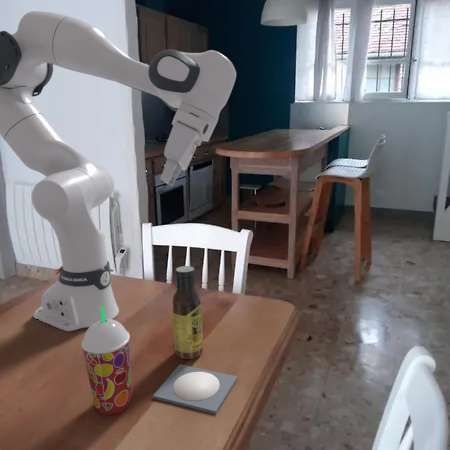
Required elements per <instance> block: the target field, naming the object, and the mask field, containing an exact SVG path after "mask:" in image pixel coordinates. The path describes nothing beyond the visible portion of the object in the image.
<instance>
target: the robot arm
mask: <svg viewBox="0 0 450 450" xmlns="http://www.w3.org/2000/svg"><path fill="white" fill-rule="evenodd" d="M54 66H57V67H58V68H59V67H60V68H63V69H66V70H70V71H73V72H76V73H80V74H85V75H89V76H91V77H92V76H93V77H95V78H100V79H104V80H109V81H112V82H116V83H118V84H121V85H124V86H125V87H126V86H127V87H129V88H132V89H134V90H138V91H139V92H143V93H145V94H149V95H151V96H154V97H156V98H157V99H159V100H161V101H162V103H164V104H165V106H167V107H168V108H169V109H171V110H172V111H174V112H175V115H174V116H173V120H172V122H171V125H172V127H171V131H170V133H169V137H168V139H167V141H166V144H165V147H164V153H163V156H164V157H165V158H166V162H165V164H164V168H163V170H162V172H161V173H162V174H161V176H160V177H159V178H160V180H161V182H164V183H165V184H167V185H168V186H171V187H172V186H173V185H174V184H175V182H176V180H177V178H178V177H179V175H180V173H181V171H187V169H188V167H189V165H190V164H191V163H190V162H191V161H192V159H193V156H194V154H195V151H196V150H197V147H200V146H201V145H202V142H206V143H207V142H210V138H211V137H212V134H213V132H214V129H215V128H216V126H217V124H218V121H219V117H220V113H221V111H222V109H223V108H224V107H225V106H226V104H227V102H228V101H229V99H230V96H231V94H232V90H233V88H234V85H235V82H236V79H237V78H236V77H237V71H236V67H235V65H234V64H233V62H232V61H231V60H230V59H229V58H228V57H227V56H225V54H223V53H221V52H220V51H217V50H213V49H210V50H207V51H204V52H184V51H179V50H176V49H173V48H172V49H170V48H169V49H164V50H161V51H159V52H158V53H157V54H155V56H154V57H152V59H151V61H150V63H149V64H146V63H143V62H141V61H138V60H135V59H134V58H132V57H130V56H129V55H127V54H126V53H124V52H123V51H122V50H121V49H120V48H119V47H118V46H116V45H115V44H114V43H113V42H112V41H111V40H110V39H109V38H108V36H107V35H105V34H104V32H102V31H101V30H100V29H98V28H97V27H95V26H93V25H91V24H89V23H87V22H86V21H83V20H81V19H79V18H75V17H72V16H69V15H68V16H67V15H65V14H60V13H57V12H50V11H49V12H48V11H41V10H39V11H37V10H33V11H29V12H26V13H25V14H24V15H22V17H21V19H20V20H19V22H18V26H17V30H16V32H15V33H13V34H10V32H8V31H7V30H1V31H0V136H1V137H2V138H3V139H2V140H4V141H5V143H6V144H7V145H8V146H9V148H10V149H11V150H12V151H13V152H14V154H15V155H16V156H17V157H18V158H19V160H20V161H21V162H22V163H23V164H24V166H26V167H27V168H28V169H30V170H32V171H35V172H38V173H40V174H41V175H43V176H44V177H45V178H43V179H42V180H41V181H39V182H38V183H37V184H35V186H34V187H33V189H32V192H31V202H32V205H33V208H34V209H35V212H36V213H37V214H38V215H39V216H40V217H41V218H43V219H45V220H47V221H48V223H49V224H50V225H51V227H52V229H53V231H54V233H55V235H56V239H57V241H58V246H59V252H60V258H61V266H60V267H59V268H57V269H55V270H54V272H55V273H54V275H57V274H59V275H58V280H56V282H54V283H53V284H52V285H51V286H49V287H48V288H47V289H46V290H45V292H43V294H42V296H41V306H40V307H39V308H37V309H36V311H34V313H33V317H34V318H36V319H39V320H41V321H43V322H42V323H44V322H45V324H46V323H47V325H49V324H50V326H52V327H54V328H57V329H59V330H63V331H65V332H72V331H76V330H79V329H80V330H81V329H85V328H89V327H90V326H91V325H92V324H93V323H95V322H97V321H99V320H102V318H101V310H100V307H101V306H104V311H105V319H112V320H114V319H115V318H116V317H117V316H118V315H119V313H120V309H119V305H118V304H117V302H116V299H115V296H114V292H113V288H112V283H111V267H110V262H109V260H108V256H107V246H106V237H105V234H104V232H103V231H102V230H101V229H100V228H98V227H97V225H96V223H95V221H94V219H93V215H92V210H93V209H94V208H97V207H99V206H101V205H103V203H105V202H106V201H107V200H108V199H109V197H110V196H112V193H113V191H114V185H115V183H114V179H113V176H112V174H111V173H110V172H109V171H108V170H107V169H106V168H104V167H103V166H99V165H98V164H96V163H94V162H92V161H91V160H90V159H88V158H87V157H86V156H84V155H83V154H82V153H81V152H79V151H78V150H77V149H76V148H74V147H73V146H72V144H70V143H69V142H68V141H66V139H65V138H64V137H62V135H61V134H60V132H59V131H58V130H57V129H56V127H54V125H53V123H51V122H50V121H49V120H48V118H47V117H46V116H45V114H44V113H43V112H42V111H41V110H40V108H39V107H38V106H37V105H36V103H35V101H34V98H33V97H37V96H38V97H39V95H40V94H42V92H43V89H44V88H45V86H47V85H48V84H49V82H50V80H51V79H52V76H53V72H54ZM33 317H32V318H33ZM34 318H33V319H34ZM36 319H35V320H36ZM39 320H38V321H39ZM41 321H40V322H41Z"/></svg>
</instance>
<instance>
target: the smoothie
mask: <svg viewBox="0 0 450 450" xmlns="http://www.w3.org/2000/svg"><path fill="white" fill-rule="evenodd" d="M100 310H101V318H102V320H99V321H97V322H95V323H93V324H92V325H91V326H90V327H87V330H86V332H85V334H84V337H83V338H82V340H81V343H80V345H81V348H82V353H83V357H84V362H85V363H84V364H85V367H86V372H87V377H88V382H89V386H90V391H91V397H92V401H93V406H94V408H96V409H97V411H98V412H99V413H100V414H103V415H106V416H112V415H116V414H120V413H121V412H123V411H125V410H126V409H127V408H128V406H129V404H130V401H131V400H132V373H131V371H132V369H131V340H130V339H131V334H130V333H129V331H127V329H126V327H124V325H122V323H120V322H119V321H117V320H116V319H105V311H104V306H101V307H100Z"/></svg>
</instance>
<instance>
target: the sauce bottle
mask: <svg viewBox="0 0 450 450" xmlns="http://www.w3.org/2000/svg"><path fill="white" fill-rule="evenodd" d="M195 274H196V271H195V268H194V267H193V266H190V265H183V266H179V267H176V268H175V277H176V288H177V289H176V292H174V293H173V297H172V319H173V321H172V323H173V339H174V340H173V343H174V348H175V354H176V356H177V357H178V358H180V359H181V360H192V359H196V358H198V357H200V356H201V354H203V347H204V346H203V345H204V340H203V338H204V337H203V318H202V317H203V316H202V302H201V298H200V297H199V294H198V290H197V288H196V285H195Z"/></svg>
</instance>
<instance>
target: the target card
mask: <svg viewBox="0 0 450 450" xmlns="http://www.w3.org/2000/svg"><path fill="white" fill-rule="evenodd" d="M238 379H239V377H238V376H237V375H234V374H233V375H232V374H227V373H224V372H223V373H222V372H218V371H215V370H208V369H204V368H199V367H195V366H191V365H184V364H178V366H177V367H176V368H175V369H174V370H173V372H172V373H171V374H170V375H169V376H168V377H167V379H166V380H164V382H163V383H162V384H161V386H160V387H159V388H158V389H157V390H156V391H155V392H154V393H153V394H152V399H153V400H158V401H162V402H167V403H170V404H175V405H178V406H182V407H187V408H189V409H195V410H199V411H202V412H206V413H210V414H213V415H217V413H218V412H219V410H220V409H221V407H222V406H223V404H224V402H225V400H227V397H228V396H229V394H230V392H231V391H232V390H233V387H234V386H235V384H236V382H237V381H238Z"/></svg>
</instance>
